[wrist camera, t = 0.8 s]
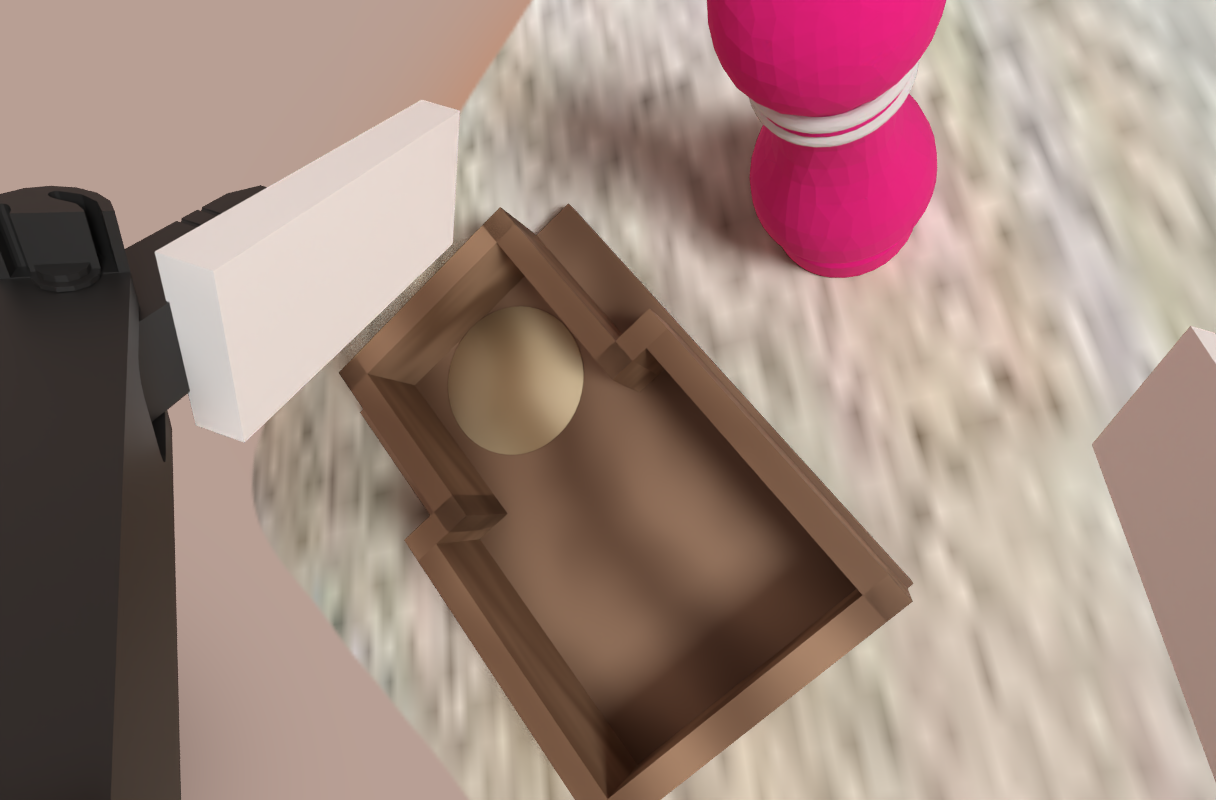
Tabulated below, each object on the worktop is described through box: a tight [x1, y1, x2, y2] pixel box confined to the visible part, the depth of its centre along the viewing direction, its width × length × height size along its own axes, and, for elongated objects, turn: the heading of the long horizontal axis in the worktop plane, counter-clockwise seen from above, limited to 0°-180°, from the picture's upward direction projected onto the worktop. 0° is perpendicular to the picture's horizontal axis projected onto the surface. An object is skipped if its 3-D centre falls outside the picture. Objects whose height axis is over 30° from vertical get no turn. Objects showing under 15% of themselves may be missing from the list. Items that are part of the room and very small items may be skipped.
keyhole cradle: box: [339, 204, 913, 800], centre depth 34 cm, size 16×24×5 cm, turn 40°
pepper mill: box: [707, 0, 946, 278], centre depth 25 cm, size 7×7×20 cm
